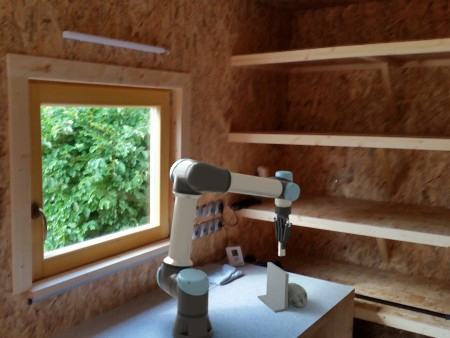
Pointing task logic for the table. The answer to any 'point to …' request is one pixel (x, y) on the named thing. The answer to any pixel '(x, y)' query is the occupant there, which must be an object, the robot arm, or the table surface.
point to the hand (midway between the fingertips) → (281, 255)
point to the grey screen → (276, 288)
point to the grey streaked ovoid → (297, 295)
